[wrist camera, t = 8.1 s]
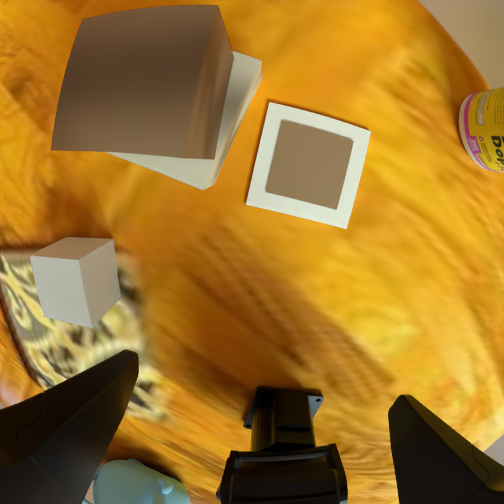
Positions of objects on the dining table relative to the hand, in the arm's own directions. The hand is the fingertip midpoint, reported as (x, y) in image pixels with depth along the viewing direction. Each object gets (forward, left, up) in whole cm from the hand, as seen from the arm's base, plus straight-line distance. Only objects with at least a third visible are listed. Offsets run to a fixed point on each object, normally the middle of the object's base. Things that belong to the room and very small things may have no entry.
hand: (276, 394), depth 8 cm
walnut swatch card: (+7, -1, -12) cm, 14 cm away
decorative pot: (-41, +10, -13) cm, 44 cm away
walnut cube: (+9, +8, -9) cm, 15 cm away
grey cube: (-4, +14, -13) cm, 19 cm away
